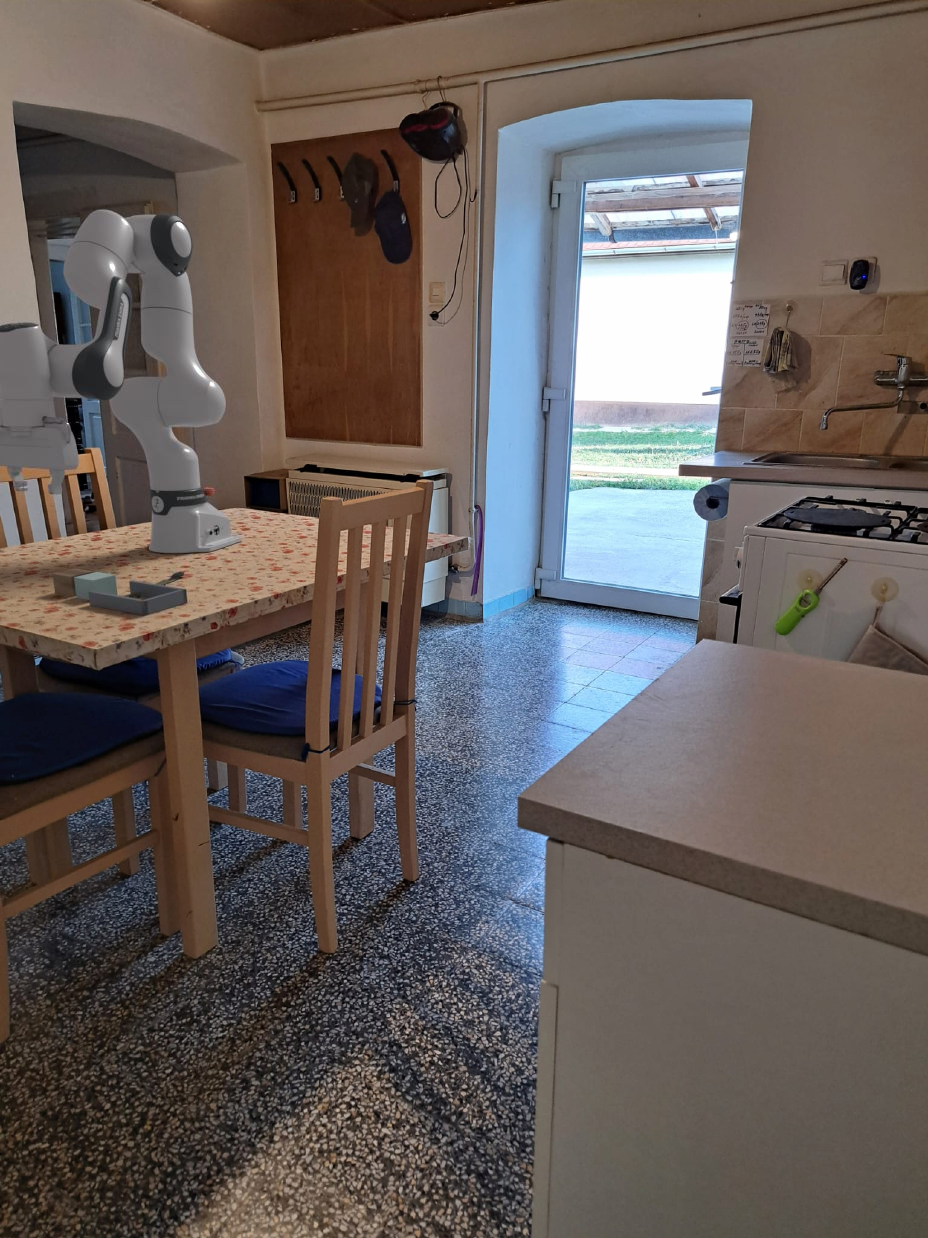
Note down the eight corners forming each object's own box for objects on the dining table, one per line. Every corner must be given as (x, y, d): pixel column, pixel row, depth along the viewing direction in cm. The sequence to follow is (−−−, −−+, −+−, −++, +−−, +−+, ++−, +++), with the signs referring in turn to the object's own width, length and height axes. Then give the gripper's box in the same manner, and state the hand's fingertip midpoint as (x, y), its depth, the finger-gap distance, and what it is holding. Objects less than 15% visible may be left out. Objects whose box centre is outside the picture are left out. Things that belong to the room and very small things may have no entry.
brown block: (77, 588, 163) (75, 568, 162) (95, 591, 161) (93, 571, 159) (55, 594, 158) (52, 573, 157) (73, 597, 156) (70, 576, 155)
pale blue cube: (99, 592, 160) (96, 571, 159) (117, 595, 158) (115, 574, 157) (76, 598, 156) (74, 577, 155) (95, 601, 154) (92, 580, 152)
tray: (133, 593, 159) (132, 580, 158) (187, 602, 153) (186, 589, 152) (89, 605, 151) (88, 591, 150) (144, 615, 145) (143, 601, 144)
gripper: (83, 416, 152) (91, 494, 155) (8, 414, 160) (17, 487, 164) (52, 417, 146) (62, 497, 150) (-24, 415, 155) (-13, 491, 159)
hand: (38, 492), depth 157 cm, fingers open, 8 cm apart
